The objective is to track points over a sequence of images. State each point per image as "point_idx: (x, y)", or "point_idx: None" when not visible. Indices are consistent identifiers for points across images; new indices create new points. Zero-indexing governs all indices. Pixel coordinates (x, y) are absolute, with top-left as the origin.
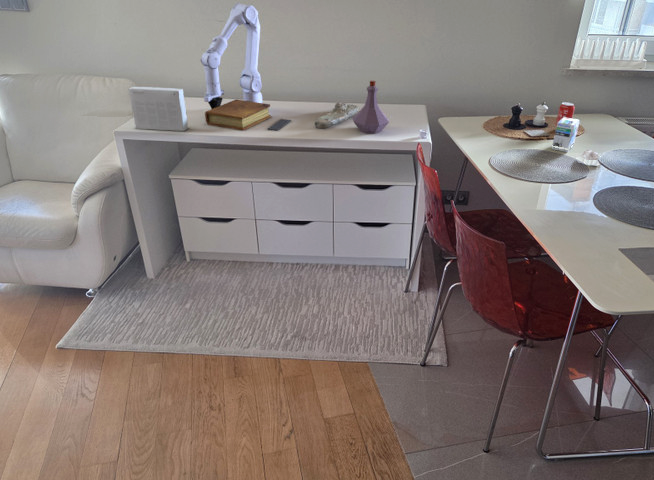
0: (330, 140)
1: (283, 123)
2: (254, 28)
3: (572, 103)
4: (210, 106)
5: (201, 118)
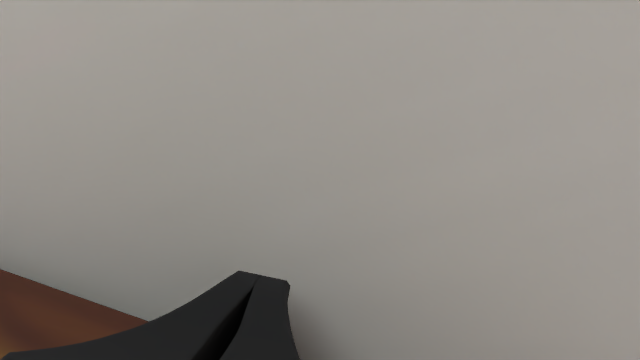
0: None
1: None
2: None
3: None
4: (139, 327)
5: (197, 35)
